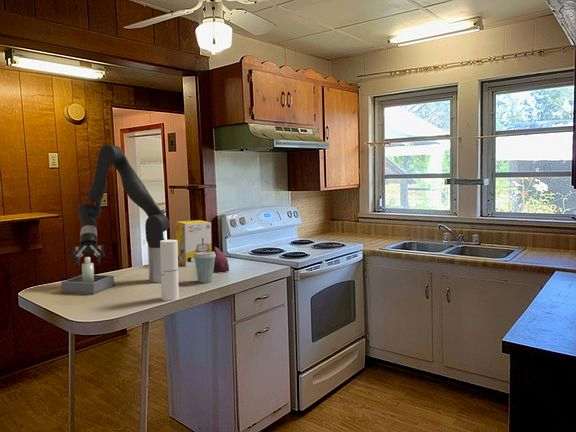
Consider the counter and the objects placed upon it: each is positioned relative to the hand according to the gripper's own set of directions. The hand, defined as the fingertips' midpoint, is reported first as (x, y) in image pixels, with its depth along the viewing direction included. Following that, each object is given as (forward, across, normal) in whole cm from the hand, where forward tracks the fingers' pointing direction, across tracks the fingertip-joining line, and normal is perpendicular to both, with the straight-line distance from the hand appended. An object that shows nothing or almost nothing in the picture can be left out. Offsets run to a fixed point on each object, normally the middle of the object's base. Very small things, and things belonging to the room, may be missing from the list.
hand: (88, 264), depth 209 cm
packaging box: (-24, +55, +41) cm, 73 cm away
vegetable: (-4, +66, +21) cm, 69 cm away
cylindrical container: (+30, +34, -13) cm, 47 cm away
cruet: (+8, 0, +6) cm, 11 cm away
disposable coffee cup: (+12, +53, +5) cm, 55 cm away
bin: (+9, 0, +7) cm, 12 cm away
